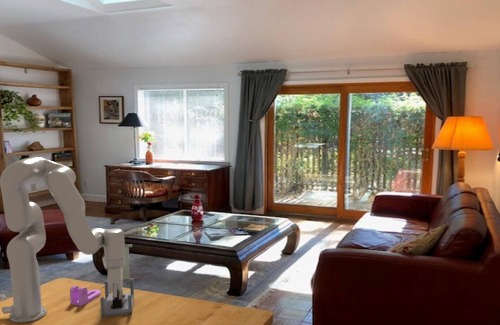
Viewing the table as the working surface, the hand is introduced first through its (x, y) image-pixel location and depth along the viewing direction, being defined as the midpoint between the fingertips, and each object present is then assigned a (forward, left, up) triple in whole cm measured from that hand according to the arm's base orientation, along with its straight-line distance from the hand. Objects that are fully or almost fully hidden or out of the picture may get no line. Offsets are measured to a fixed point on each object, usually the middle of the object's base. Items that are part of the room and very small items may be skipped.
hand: (117, 307), depth 171 cm
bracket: (-14, +15, -2) cm, 20 cm away
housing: (0, +4, -2) cm, 4 cm away
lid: (0, +12, +13) cm, 18 cm away
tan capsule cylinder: (0, 0, -1) cm, 1 cm away
